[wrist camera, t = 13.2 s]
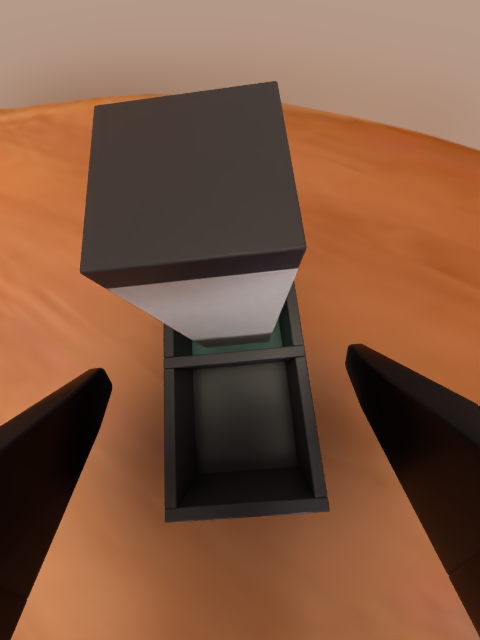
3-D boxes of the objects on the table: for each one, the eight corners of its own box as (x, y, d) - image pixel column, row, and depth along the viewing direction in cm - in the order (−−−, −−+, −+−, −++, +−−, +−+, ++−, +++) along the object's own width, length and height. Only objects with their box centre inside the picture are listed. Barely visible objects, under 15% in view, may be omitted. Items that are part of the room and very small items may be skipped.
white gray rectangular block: (269, 341, 16) (311, 247, 4) (204, 348, 17) (74, 273, 5) (262, 280, 18) (280, 74, 6) (200, 286, 18) (90, 99, 6)
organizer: (308, 472, 15) (330, 512, 11) (189, 481, 15) (164, 523, 11) (278, 264, 19) (286, 229, 14) (183, 274, 19) (162, 243, 15)
